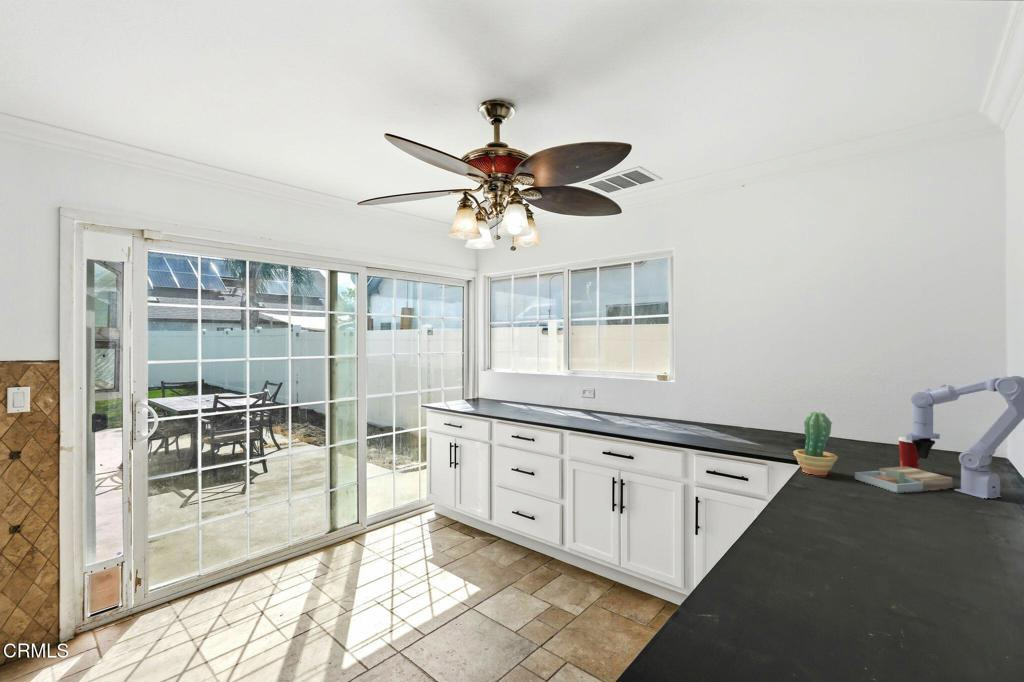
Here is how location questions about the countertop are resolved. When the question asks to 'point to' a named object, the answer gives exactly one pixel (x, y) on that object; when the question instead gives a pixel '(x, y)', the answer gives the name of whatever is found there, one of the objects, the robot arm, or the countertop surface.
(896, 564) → the countertop surface
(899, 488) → the box
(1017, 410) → the robot arm
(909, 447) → the paper cup
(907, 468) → the wooden board
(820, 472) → the potted cactus
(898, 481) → the sage tile
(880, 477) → the terracotta tile
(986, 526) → the countertop surface
